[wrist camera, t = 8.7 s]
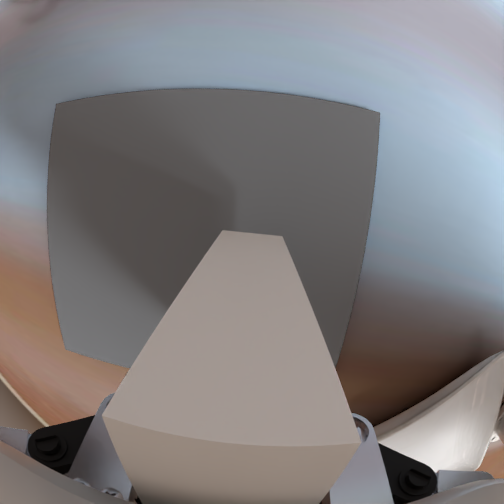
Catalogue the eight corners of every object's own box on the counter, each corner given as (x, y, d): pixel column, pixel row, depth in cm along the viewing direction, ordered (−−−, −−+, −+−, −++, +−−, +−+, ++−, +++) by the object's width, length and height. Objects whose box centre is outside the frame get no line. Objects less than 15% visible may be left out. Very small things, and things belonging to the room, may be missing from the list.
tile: (287, 236, 12) (379, 439, 2) (264, 385, 14) (267, 565, 4) (222, 230, 12) (101, 415, 2) (213, 380, 14) (178, 556, 4)
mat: (375, 114, 13) (379, 112, 13) (326, 386, 18) (327, 391, 17) (61, 105, 14) (56, 104, 13) (69, 345, 18) (65, 349, 17)
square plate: (472, 452, 23) (481, 468, 19) (310, 523, 27) (312, 541, 23) (492, 329, 17) (516, 349, 13) (220, 452, 21) (216, 485, 17)
